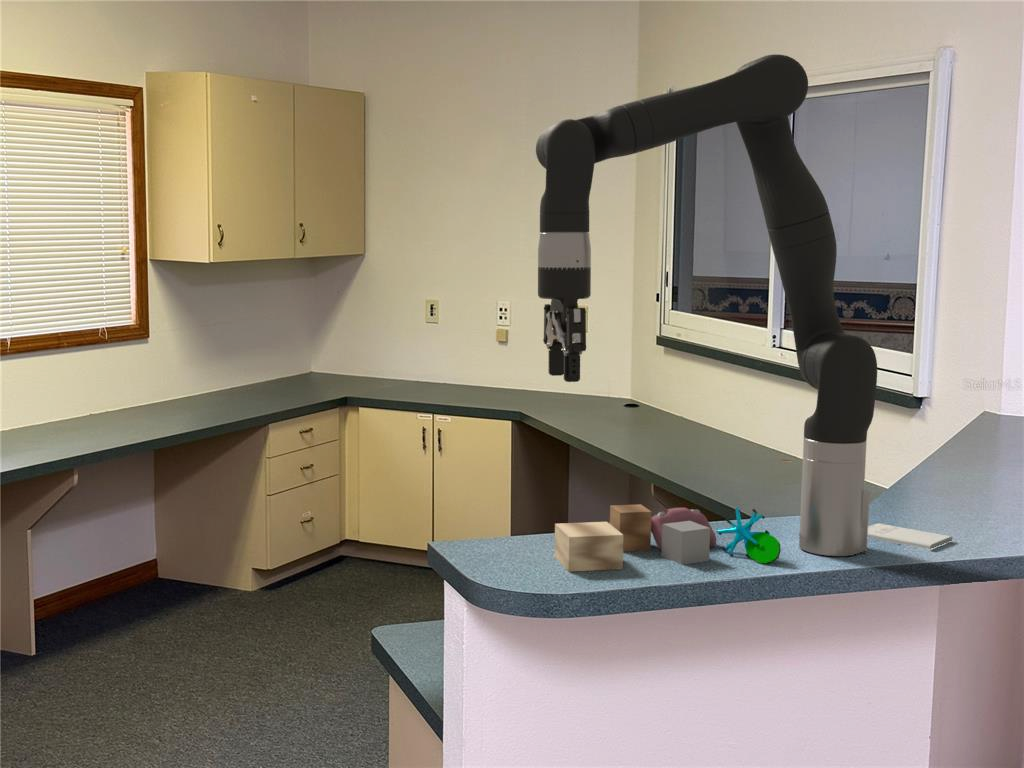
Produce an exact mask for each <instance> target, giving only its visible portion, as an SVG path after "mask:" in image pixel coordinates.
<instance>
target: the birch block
mask: <svg viewBox="0 0 1024 768" xmlns="http://www.w3.org/2000/svg"><path fill="white" fill-rule="evenodd" d="M554 558H555V559H556V560H557V561H558V563H560V564H561V566H563V567H564V569H565V570H566V571H567V572H569V573H570V572H587V571H588V572H589V571H590V572H591V571H608V570H623V569H624V567H623V564H624V562H623V559H624V551H623V534H622V533H620V532H619V531H618V530H617V529H615V528H614V527H613V526H612V525H610V522H608V521H590V522H589V521H588V522H587V521H586V522H567V523H566V522H565V523H561V522H560V523H554Z"/></svg>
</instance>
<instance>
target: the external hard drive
mask: <svg viewBox="0 0 1024 768" xmlns="http://www.w3.org/2000/svg"><path fill="white" fill-rule="evenodd" d="M868 537H869V538H874V539H879V540H884V541H888V542H894V543H900V544H906V545H912V546H917V547H922V548H928V549H931V548H934V547H936V546H939V545H942V544H944V543H947V542H949V541H952V542H953V536H952V535H945V534H940V533H939V534H938V533H934V532H929V531H928V532H927V531H924V530H918V529H911V528H906V527H901V526H897V525H895V526H894V525H888V524H885V523H880V522H879V523H875V524H871V525H868Z"/></svg>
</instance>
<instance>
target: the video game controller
mask: <svg viewBox="0 0 1024 768" xmlns="http://www.w3.org/2000/svg"><path fill="white" fill-rule="evenodd" d="M683 521H692V522H695V523H697V524H700V525H703V526H706V527H708V528H710V544H709V548H714V547H716V544H717V536H716V533H715V532H714V530H713V528H712V526H711V525H710V522H709V521H708V519H707V517H706V516H705V515H704V513H702V512H701V511H700V509H697V508H696V509H692V508H691V509H690V508H687V507H672V508H668V509H664V510H663V511H659V512H657V513H655V514H654V515H653V516H651V535H652V537H653V539H654V541H655V543H656V546H657V547H658V548H659V549H660V551H662V524H667V523H675V522H683Z"/></svg>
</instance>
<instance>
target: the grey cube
mask: <svg viewBox="0 0 1024 768" xmlns="http://www.w3.org/2000/svg"><path fill="white" fill-rule="evenodd" d="M709 544H710V528H708V527H706V526H703V525H700V524H697V523H695V522H692V521H683V522H675V523H667V524H662V550H661V553H660V554H661V557H662V558H665V559H667V560H669V561H672V562H675V563H676V564H679V565H688V564H695V563H702V562H710V546H709Z"/></svg>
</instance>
